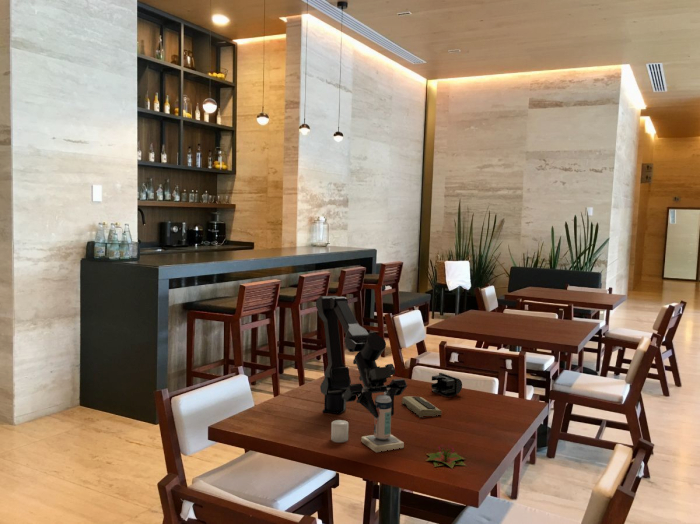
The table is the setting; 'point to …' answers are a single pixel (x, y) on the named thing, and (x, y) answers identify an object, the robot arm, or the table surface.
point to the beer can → (383, 417)
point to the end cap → (446, 385)
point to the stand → (382, 443)
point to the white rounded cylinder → (339, 431)
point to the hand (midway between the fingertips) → (385, 416)
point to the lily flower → (445, 455)
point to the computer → (420, 406)
